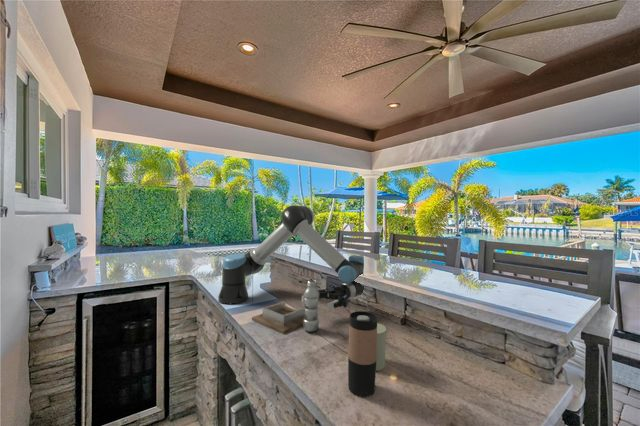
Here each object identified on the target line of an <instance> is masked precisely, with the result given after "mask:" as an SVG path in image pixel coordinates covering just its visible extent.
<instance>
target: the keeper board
mask: <svg viewBox="0 0 640 426" xmlns="http://www.w3.org/2000/svg"><path fill="white" fill-rule="evenodd" d="M297 310H298V309H295V308H293V307H289V306H286V305H285V310H284V311H282V312H279V314H282V315H286V314H289V313H291V312H294V311H297ZM303 320H304V318H302V319H300V320H297V321H295V322H292V323H290V324H287V325H285V326H282V325H280V324H277V323H275V322H273V321H270V320H268V319H266V318H263V313H260V314H258V315H257V314H256V315H254V316H252V317H251V321H253V322H256V323H258V324H259V323H260V325H261V324H262V326H263V327H265V328H268V329H270V330H273V331H275V332H277V333H280V334H282V335H284V334H285V335H286V333H287V334H288V333H290V332H291V331H293V330H296V329H297V328H300V327H303Z"/></svg>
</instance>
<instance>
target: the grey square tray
mask: <svg viewBox="0 0 640 426" xmlns="http://www.w3.org/2000/svg"><path fill="white" fill-rule="evenodd" d="M285 306H286V301H285V300H284V301H282V302H278V303H275V304H272V305H269V306H265V307H263V308H262V314H263V318H266V319H268V320H270V321H273V322H275V323H277V324H280V325H282V326H285V325H287V324H290V323H292V322H295V321H297V320H300V319H302V318H304V313H305V307H303V308H299V309H296V310H297V311H294V312H291V313H289V314H286V315H282V314H279V312H282V311H284V310H285Z"/></svg>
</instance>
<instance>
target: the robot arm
mask: <svg viewBox="0 0 640 426" xmlns="http://www.w3.org/2000/svg"><path fill="white" fill-rule="evenodd" d="M314 220H315V215H314V212H313V210H312V209H311V207H308V206H306V205H288V206H286V207H285V208H284V209H283V211H282V213H281V221H282V223H281V224H280V225H279V226H277V228H276V229H275V230H273V231H272V232H271V233H270V234H269V235H268V236H267V237H266V238H265V239H264V240H263V241H262V242H261V243H260V244H259V245H258V246H256V247H254V248H252V247H251V248H250V250H249V251H247V253H245V254H244V253H234V254H228V255H227V256H225V257H223V260H222V264H221V266H222V274H221V275H222V279H221V280H222V283H221V285H222V286H221V288H220V291H219V294H218V297H217V298H218V300H217V301H218V302H219V303H220V302H221V304H223V303H227V304H226V305H231V304H230V303H238V304H241V303H242V304H243V303H245V302H247V301H248V300H249V293H248V289H247V287H246V277H248V276H251V275H255V274H257V273H259V272H261V271H262V270H263V269H264V267H265V265H266V263H267V259H269V257H270V256H272V255H273V254H274V253H275V252H276V251H277V250H278V249H279V248H280V247H281V246H283V244H285V243H286V241H288V240H289V239H290V238H291V237H292V236H298V237H299V239H301V240H302V241H303V242H304V243H305V244H306V245H307V246H308V247H309V248H310V249H312V251H313V252H314V253H315V254H316V255H317V256H318V257H320V258H321V260H323V261H324V262H325V263H326V265H328V266H329V267H330V268H331V269H332V270H333V271H334V272H335V273H336V274H337V277H338V280H339V281H340V282H342V283H341V284H339V285H336V286H335V287H334V288H333V289H331V290H329V289H328V288H325V289H318V291H319V299H326V300H333V301H330V302H327V303H326V311H327V312H330V311H331V310H334V309H336V308H339V307H340V308H342V307H343V308H347V307H348V304H349V302H350V301H351V299H354V298H356V297H358V296H361V295H363V294H364V293H363V290H364V286H362V285H361V284H360V283H357V282H355V281H354V280H355V279H356V278H357V277H358V276H359V275H361V274H363V275H364V268H365V261H364V260H365V258H364V257H363V256H361V255H350V256H349V257H348V259H347V258H346V257H345V256H343V254H341V252H340V251H338V249H336V248H335V247H334V246H333V245H332V244H331V243H329V241H328V240H326V238H324V237H323V236H322V235H321V234H320V233H318V231H316V229H314V228H313V226H311V225H312V224H313V223H314ZM362 293H363V294H362ZM228 303H229V304H228ZM301 303H303V304H305V302H304V294H303V295H301Z"/></svg>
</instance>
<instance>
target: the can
mask: <svg viewBox="0 0 640 426" xmlns="http://www.w3.org/2000/svg"><path fill="white" fill-rule="evenodd" d="M386 340H387V327H386V326H385V325H384V324H382V323H378V322H377V359H376V372H378V371H382V370H384V369H385V367H386Z"/></svg>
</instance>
